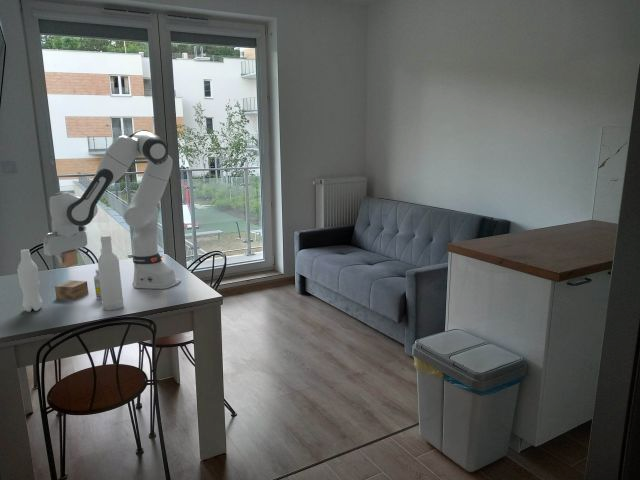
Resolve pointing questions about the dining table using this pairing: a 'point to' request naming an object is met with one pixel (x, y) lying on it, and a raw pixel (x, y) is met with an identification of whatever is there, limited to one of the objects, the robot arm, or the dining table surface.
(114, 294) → the bottle
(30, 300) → the water bottle
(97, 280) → the supplement bottle
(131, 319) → the dining table surface
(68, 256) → the brown cardboard box
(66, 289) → the walnut box
